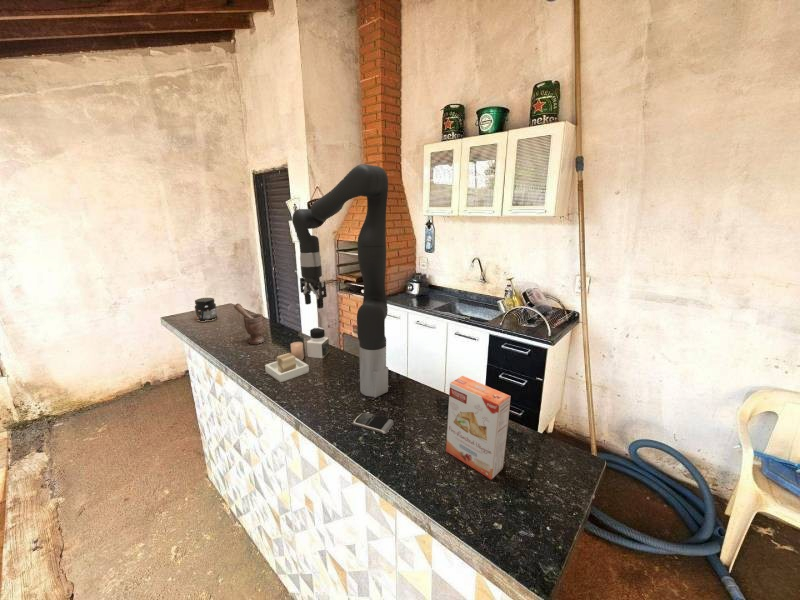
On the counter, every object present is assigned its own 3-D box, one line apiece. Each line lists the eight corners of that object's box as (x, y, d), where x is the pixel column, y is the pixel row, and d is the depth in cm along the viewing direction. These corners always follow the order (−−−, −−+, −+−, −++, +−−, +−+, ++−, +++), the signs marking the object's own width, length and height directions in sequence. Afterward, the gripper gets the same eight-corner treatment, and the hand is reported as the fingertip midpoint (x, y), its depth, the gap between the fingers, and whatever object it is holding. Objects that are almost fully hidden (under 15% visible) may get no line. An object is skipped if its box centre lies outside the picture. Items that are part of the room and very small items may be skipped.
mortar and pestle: (245, 349, 157) (241, 306, 152) (236, 344, 162) (231, 303, 157) (269, 341, 166) (265, 301, 161) (259, 337, 171) (255, 298, 166)
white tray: (309, 372, 136) (308, 365, 135) (280, 382, 127) (279, 375, 127) (293, 362, 144) (293, 356, 143) (265, 371, 135) (265, 364, 135)
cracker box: (444, 452, 92) (448, 381, 86) (458, 442, 96) (462, 374, 91) (491, 482, 82) (498, 404, 77) (503, 469, 86) (512, 394, 81)
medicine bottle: (322, 358, 148) (321, 332, 145) (307, 357, 149) (305, 331, 146) (329, 352, 155) (328, 326, 152) (314, 350, 156) (313, 325, 153)
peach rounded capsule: (306, 359, 147) (305, 344, 145) (295, 362, 144) (294, 347, 142) (300, 355, 151) (299, 340, 149) (289, 359, 147) (288, 343, 145)
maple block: (296, 370, 135) (295, 356, 134) (284, 374, 132) (283, 360, 130) (289, 366, 139) (288, 352, 137) (278, 370, 135) (276, 356, 134)
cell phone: (362, 415, 109) (362, 411, 108) (394, 424, 105) (394, 420, 104) (352, 426, 103) (352, 422, 103) (385, 436, 99) (385, 431, 99)
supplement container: (197, 318, 199) (194, 298, 196) (218, 316, 203) (215, 296, 200) (195, 323, 190) (192, 302, 187) (217, 321, 194) (214, 301, 191)
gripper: (292, 263, 131) (295, 304, 135) (312, 267, 121) (316, 311, 125) (309, 261, 136) (312, 301, 140) (330, 264, 126) (333, 307, 131)
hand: (314, 306), depth 133 cm, fingers open, 8 cm apart
